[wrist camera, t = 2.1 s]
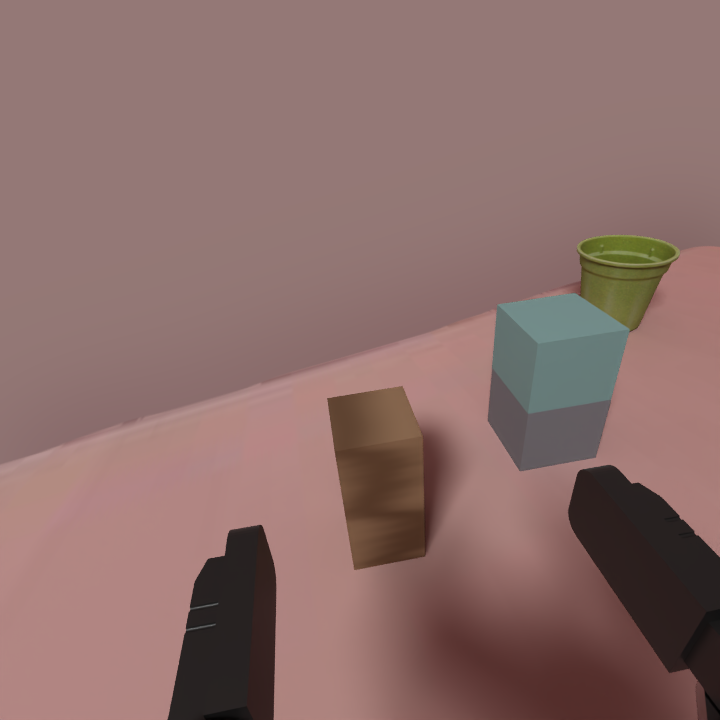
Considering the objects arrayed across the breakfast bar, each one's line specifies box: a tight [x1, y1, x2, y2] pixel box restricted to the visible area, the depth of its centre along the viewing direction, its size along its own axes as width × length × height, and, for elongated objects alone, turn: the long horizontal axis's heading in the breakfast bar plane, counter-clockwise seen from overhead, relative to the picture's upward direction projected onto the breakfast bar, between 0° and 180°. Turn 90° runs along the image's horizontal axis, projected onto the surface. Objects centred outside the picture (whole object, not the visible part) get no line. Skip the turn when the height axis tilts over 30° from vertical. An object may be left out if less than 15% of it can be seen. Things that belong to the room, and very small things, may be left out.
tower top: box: [492, 293, 630, 414], centre depth 30 cm, size 6×6×6 cm
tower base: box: [488, 368, 611, 471], centre depth 33 cm, size 6×6×6 cm
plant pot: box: [577, 235, 680, 331], centre depth 47 cm, size 9×9×9 cm
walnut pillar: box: [327, 386, 425, 570], centre depth 26 cm, size 4×4×10 cm
